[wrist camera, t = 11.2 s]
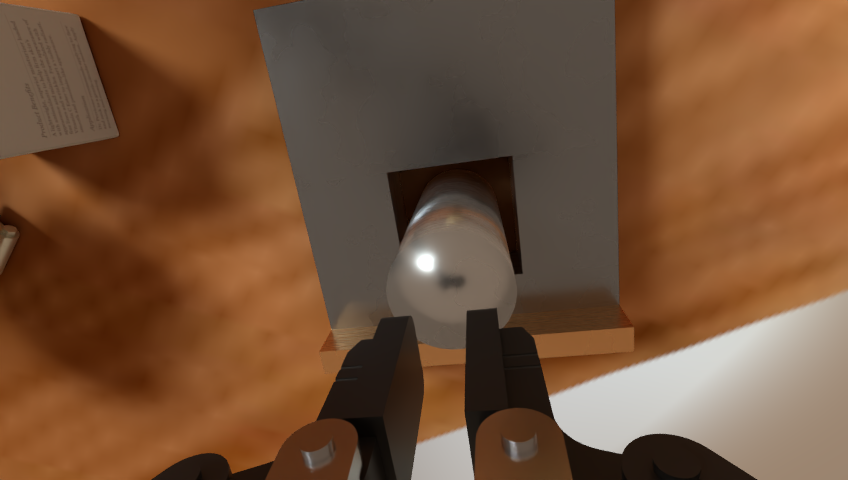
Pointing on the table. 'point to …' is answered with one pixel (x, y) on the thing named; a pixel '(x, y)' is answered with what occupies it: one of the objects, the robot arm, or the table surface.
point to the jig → (455, 149)
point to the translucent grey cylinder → (452, 260)
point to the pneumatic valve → (7, 243)
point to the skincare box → (48, 83)
